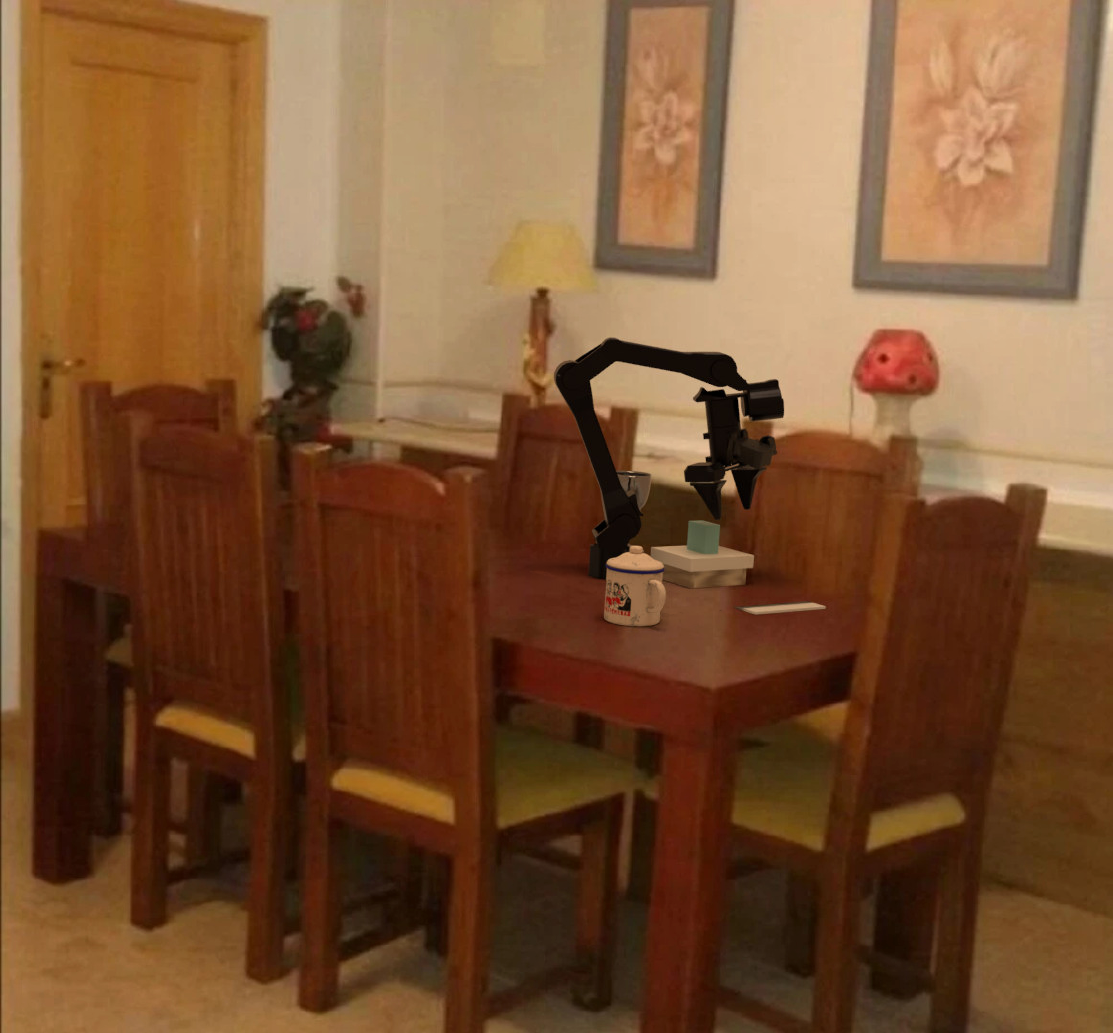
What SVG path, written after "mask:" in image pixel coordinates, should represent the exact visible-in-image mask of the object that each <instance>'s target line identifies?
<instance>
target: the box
mask: <svg viewBox="0 0 1113 1033" xmlns="http://www.w3.org/2000/svg"><path fill="white" fill-rule="evenodd" d="M663 565H664V568H665V570H664V571H663V579H662V581H666V582H668V583H669V582H670V583H673V584H675V585H677V586H682V587H685V588H688V589H701V588H711V587H712V588H716V587H729V586H743V585H744V586H745V585H746V579H747V578H746V577H747V568H744V569H728V570H712V571H696V572H689V571H686V570H683V569H679V568H676V567H673V566H669V565H666V564H663Z"/></svg>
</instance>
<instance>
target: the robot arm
mask: <svg viewBox="0 0 1113 1033" xmlns="http://www.w3.org/2000/svg"><path fill="white" fill-rule="evenodd" d="M616 362H618V363H624V364H629V365H633V366H634V365H635V366H640V367H644V368H645V367H646V368H651V369H657V370H662V371H666V372H674V373H677V374H678V373H679V374H682V375H685V376H687V377H689V378H693V379H695V380H697V381H701V382H702V383H706V384H708V385H711V386H713V387H716V388H722V389H713V390H707V389H705V387H703V386H701V387H700V388H699V391H698V392H696V394H695V395H694V396H693V397H692V400H693V401H694V402H695V403H704V406H705V415H706V416H705V418H706V428H707V432H703V434H702V436H703V440H708V447H709V455H708V456H705V462H702V461H701V462H696V463H693V464H689V465H687V466H686V467H685V469H684V470H683V475H684V482H685V483H689V485H690V487H693V489H695V492H696V493H698V495H699V497H700V498H701V499H702V501H703V502H704V504H705V506H706V507H707V509H708V510H709V512H710V514H711V516H712V517H713V519H714V520H716V521H719V520H722V489H723V487H724V486H725V484H726V483H727V479H725V476H726V472H729V471H730V472H731V475H732V478H733V481H734V484H735V487H736V489H737V490H736V491H737V493H738V496H739V499H740V502H741V505H742V507H743V509H744V510H748V511H749V510H751V508H752V507H751V506H752V503H753V497H754V493H755V489H756V484H757V481H758V478H759V476H761V475H762V474H763V472H764V471H767V469H768V467H769V466H771V464H772V458H773V456H776V455H777V454H778V451H777V449H776V448H777V444H776V440H775V437H774V436H771V435H770V434H768V435H763V436H761V438H760V439H757V438H756V439H753V438H750V437H749V431H748V430H747V428H742V425H741V416H740V411H741V414H742V416H743V418H745V417H748V420H749V422H751V423H753V422H761V421H769V420H778V419H783V418H784V416H785V401H784V398H783V395H782V391H781V389H780V388H781V387H780V384H779V382H780V381H779V380H778V379H776V378H774V379H772V378H771V379H768V380H767V379H766V380H764V381H757V382H747V379H745V378H744V377H742V375H741V374H739V372H738V366H737V363H736V361H735V360H734V358H733V357H732V356H731V355H728V354H726V353H723V352H720V351H679V350H675V349H671V348H670V349H669V348H666V347H665V348H664V347H658V346H652V345H648V344H642V343H637V342H631V341H625V340H621V339H619V338H617V337H611V336H610V337H608V338H607V337H606V338H605V339H604V340H602V342H601V343H600V344H598V345H596V346H595V347H593V348H592V349H590V350H589V351H587V352H585V353H584V354H582V355H581V356H580V357H578V358H576V359H575V360H572V359H571V360H570V359H569V360H564V361H562V362H561V363H559V364H558V365H557V366H556V368H555V370H554V372H553V381H554V384H555V386H556V388H557V389H558V392H559V393H560V396H562V398H563V400H564V401H565V403H566V405H567V406H568V408H569V410H570V412H571V414H572V415H573V418H574V421H575V423H576V427H577V428H578V429H577V430H578V431H579V434H580V437H581V441H583V442H582V443H583V445H584V448H585V451H586V453H587V456H588V459H589V462H590V465H591V468H592V470H593V473H594V476H595V479H596V481H597V483H598V486H599V489H600V497H601V504H602V510H603V517H604V518H603V519H602V520H601V521H600V522H599V523H598V524H597V525H596V526H595V527H594V528H593V529H592V530H591V532H592V535H593V538H594V541H595V543H594V544H593V543H592V544H590V545H589V546H590V547H589V557H588V558H589V559H588V562H589V563H588V575H587V576H588V577H591V578H593V579H596V580H606V576H607V568H606V564H607V561H608V560H609V559H611V558H615V557H618V556H620V555H622V554H623V553H626V552H629V550H630V546H627V545H628V543H629V544H630V541H631V540H632V539H634V538H635V537H636V536H637V535H638V534H639V532H640V531H641V529H642V520H641V517H644V513H643V512H642V511H641V509H639V508H638V504H637V498H636V494H635V493H634V491H633V490H632V489H631V490H629V491H628V492H625V490H624V489H623V487H622V485H621V483H620V480H619V477H618V475H617V472H616V471H617V470H616V467H615V463H614V461H613V458H612V455H611V453H610V450H609V447H608V445H607V442H606V439H605V436H604V433H603V430H602V428H601V424H600V422H599V419H598V416H597V414H596V411H595V406H594V405H595V404H594V398H593V390H592V385H591V381H592V380H593V379H595V378H596V377H597V376H598V375H599V374H601V373H602V372H603V371H605V370H606V369H607V368H609V367H610V366H611V365H612V364H613V365H614V363H616ZM725 387H729V388H730V389H733V390H735V391H737V392H735V393H726V391H725V389H723V388H725ZM739 398H740V402H739ZM739 403H740V405H739ZM740 409H741V410H740Z"/></svg>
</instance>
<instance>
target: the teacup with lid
mask: <svg viewBox="0 0 1113 1033" xmlns="http://www.w3.org/2000/svg"><path fill="white" fill-rule="evenodd" d="M643 550H644V549H643V547H642V546H640V545H631V547H630V552H626V553H623V554H622V555H620V556H618V557H615V558H611V559H609V560H608V561H607V564H606V568H607V576H606V579H605V580H606V581H605V592H604V593H605V595H604V609H603V619H604V620H605V621H607V622H608V623H611V624H614V625H619V626H625V627H626V626H627V627H651V626H654V625H657V624H658V623H660V620H661V610H662V609H663V607H664V605H665V604H666V600H667V599H666V598H667V592H666V588H665V585H664V584H663V580H662V579H663V571H664V570H665V568H664V565H663V563H661V562H659V561H657V560H654V559H653V558H651V557H650V556H651V555H650V554H648V553H645V552H643Z"/></svg>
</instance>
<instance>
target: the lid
mask: <svg viewBox="0 0 1113 1033" xmlns="http://www.w3.org/2000/svg"><path fill="white" fill-rule="evenodd" d="M687 525H688V527H687V540H686V541H687V542H686V545H670V546H668V545H667V546H651V547H650V555H649V556H650V557H651V558H653V559H654V560H657V561H659V562H661V563H663V564H666V565H669V566H673V567H676V568H679V569H683V570H686V571H689V572H696V571H712V570H728V569H744V568H746V569H754V561H755V560H754V559H755V555H754V554H750V553H746V552H744V551H743V552H742V551H739V550H736V549H732V548H728V547H724V546H720V545H719V544H720V532H721V531H720V530H721V525H720V524H718V523H714V522H710V521H706V520H703V519H702V520H688V523H687Z"/></svg>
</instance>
